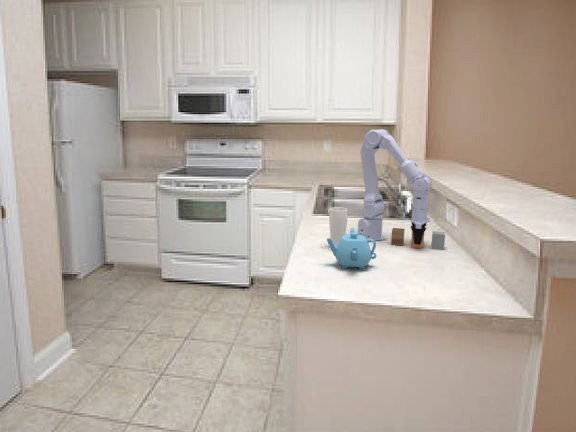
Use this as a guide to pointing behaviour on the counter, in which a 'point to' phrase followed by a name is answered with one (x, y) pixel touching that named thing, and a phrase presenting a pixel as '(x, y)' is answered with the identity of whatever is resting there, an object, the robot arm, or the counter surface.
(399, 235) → the walnut block
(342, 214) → the drinking glass
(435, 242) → the slate block
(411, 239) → the terracotta block
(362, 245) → the teapot
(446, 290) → the counter surface
